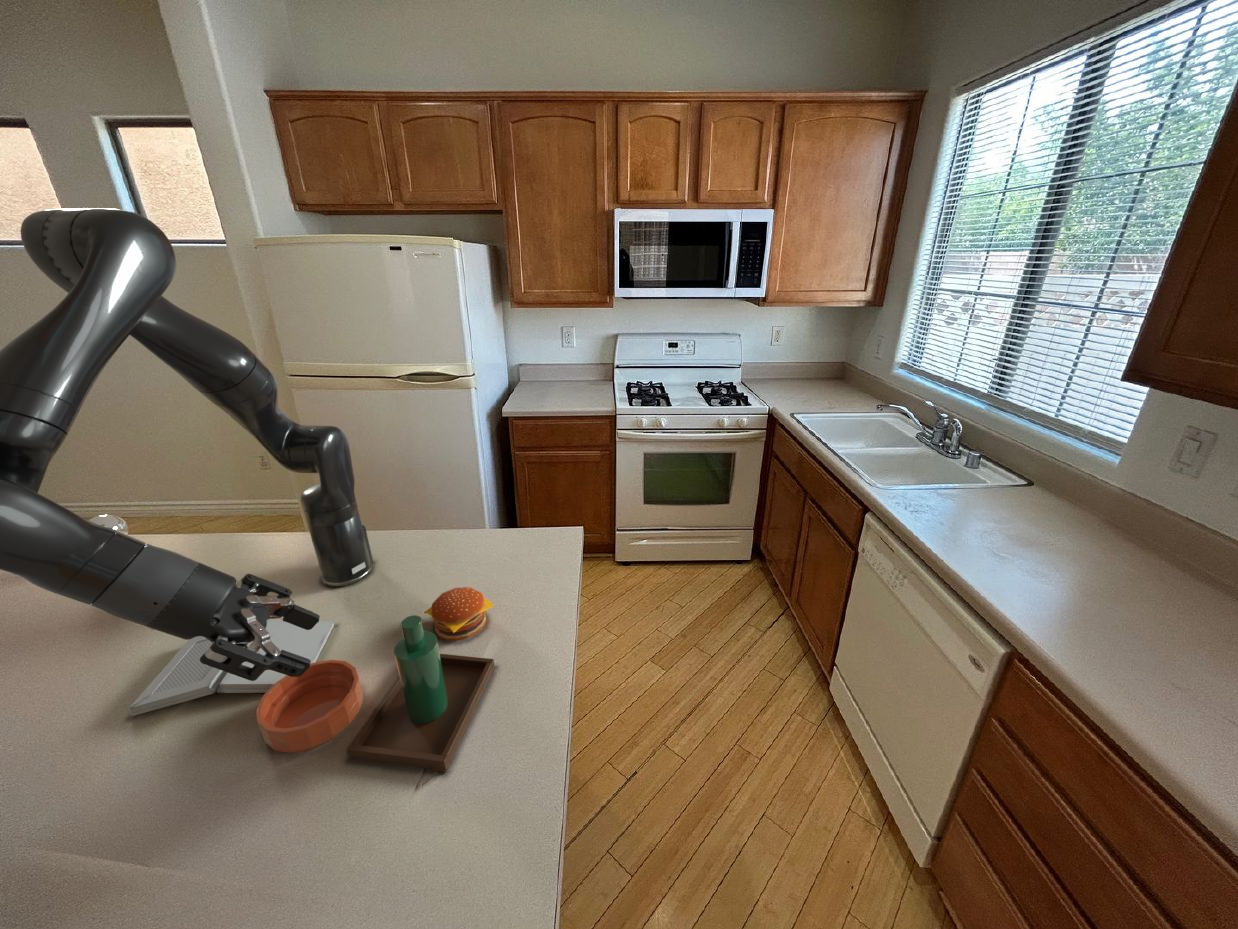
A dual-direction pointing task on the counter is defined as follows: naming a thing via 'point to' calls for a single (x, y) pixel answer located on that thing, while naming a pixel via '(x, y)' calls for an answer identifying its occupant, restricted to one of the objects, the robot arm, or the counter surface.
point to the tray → (432, 742)
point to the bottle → (420, 672)
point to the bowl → (310, 706)
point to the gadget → (197, 679)
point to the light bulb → (111, 523)
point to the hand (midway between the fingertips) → (311, 644)
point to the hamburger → (459, 613)
